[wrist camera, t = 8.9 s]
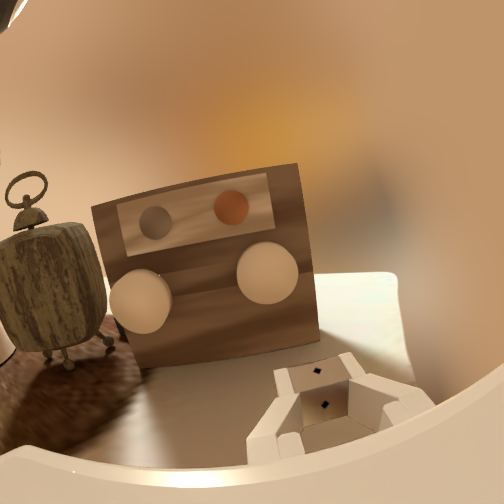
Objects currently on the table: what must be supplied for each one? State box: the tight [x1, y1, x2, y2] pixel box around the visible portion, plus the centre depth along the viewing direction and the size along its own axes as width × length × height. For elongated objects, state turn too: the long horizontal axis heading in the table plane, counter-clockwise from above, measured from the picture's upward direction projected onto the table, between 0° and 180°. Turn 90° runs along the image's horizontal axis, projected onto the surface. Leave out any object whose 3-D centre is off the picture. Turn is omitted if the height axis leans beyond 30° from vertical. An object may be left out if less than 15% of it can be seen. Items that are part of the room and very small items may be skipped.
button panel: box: [91, 163, 320, 368], centre depth 27 cm, size 4×20×18 cm, turn 93°
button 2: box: [237, 241, 298, 304], centre depth 27 cm, size 7×5×5 cm
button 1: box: [109, 269, 172, 334], centre depth 24 cm, size 7×5×5 cm
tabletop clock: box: [0, 171, 114, 371], centre depth 26 cm, size 14×9×25 cm, turn 109°
